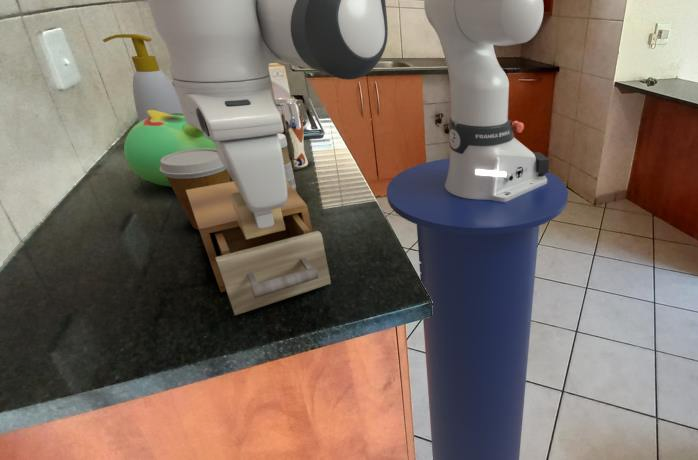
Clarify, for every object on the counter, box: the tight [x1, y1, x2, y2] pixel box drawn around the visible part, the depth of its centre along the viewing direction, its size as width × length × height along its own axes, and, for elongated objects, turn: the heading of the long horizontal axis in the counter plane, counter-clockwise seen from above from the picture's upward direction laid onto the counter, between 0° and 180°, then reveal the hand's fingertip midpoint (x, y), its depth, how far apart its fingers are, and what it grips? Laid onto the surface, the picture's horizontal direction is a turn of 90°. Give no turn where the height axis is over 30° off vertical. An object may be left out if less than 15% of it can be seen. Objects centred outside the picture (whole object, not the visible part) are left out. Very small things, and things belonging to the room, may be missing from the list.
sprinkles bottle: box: [277, 133, 298, 194], centre depth 79 cm, size 5×5×14 cm
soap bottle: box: [102, 33, 183, 123], centre depth 100 cm, size 11×12×26 cm
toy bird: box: [123, 110, 216, 187], centre depth 86 cm, size 18×17×15 cm
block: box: [230, 192, 285, 239], centre depth 53 cm, size 4×4×4 cm
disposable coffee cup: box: [159, 148, 231, 231], centre depth 72 cm, size 10×10×12 cm
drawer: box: [213, 213, 332, 316], centre depth 56 cm, size 18×12×8 cm, turn 39°
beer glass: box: [275, 97, 310, 171], centre depth 96 cm, size 7×7×15 cm
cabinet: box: [186, 181, 313, 293], centre depth 64 cm, size 15×13×10 cm
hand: (259, 216), depth 53 cm, fingers closed on block, 4 cm apart
